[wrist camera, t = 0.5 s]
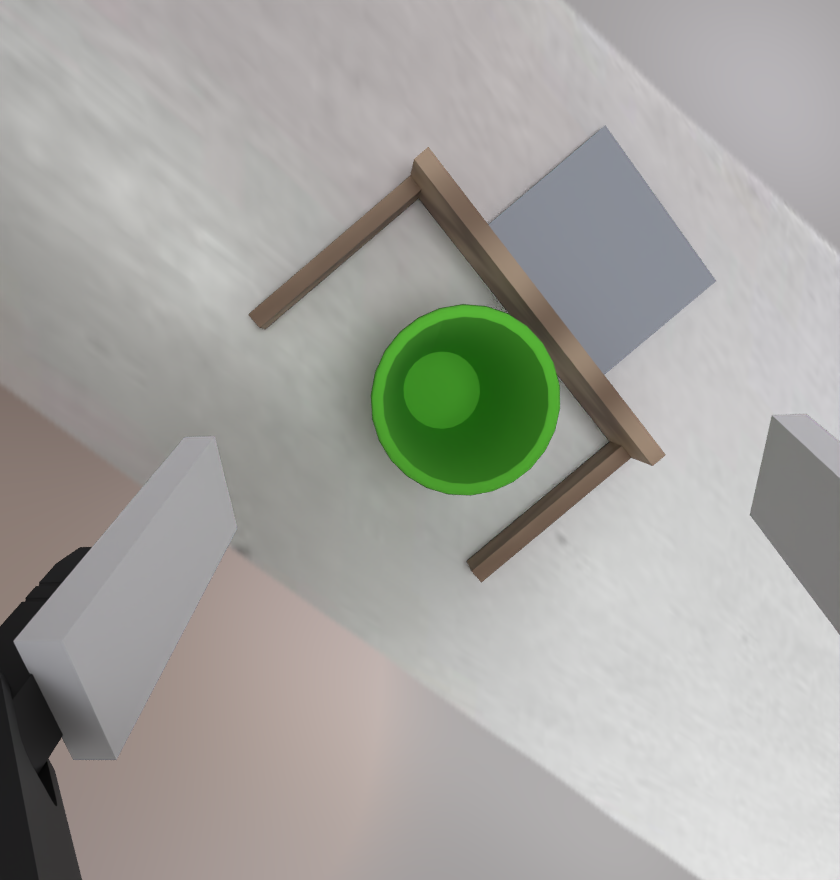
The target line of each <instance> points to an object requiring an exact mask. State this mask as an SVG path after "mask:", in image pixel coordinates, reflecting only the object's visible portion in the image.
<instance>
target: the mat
mask: <svg viewBox="0 0 840 880" xmlns="http://www.w3.org/2000/svg"><path fill="white" fill-rule="evenodd" d="M489 226H490V228H491V229H492V230H493V232H494V233H495V234H496V235H497V237H498V238H499V239H500V241H501V242H502V243H503V244H504V246H505V247H506V248H507V250H508V251H509V252H510V254H511V255H512V256H513V257H514V259H515V260H516V261H517V263H518V264H519V265H520V267H521V268H522V269H523V270H524V272H525V273H526V274H527V276H528V277H529V278H530V280H531V281H532V282H533V283H534V285H535V286H536V287H537V289H538V290H539V291H540V292H541V294H542V295H543V296H544V298H545V299H546V300H547V302H548V303H549V304H550V305H551V307H552V308H553V309H554V311H555V312H556V313H557V315H558V316H559V317H560V318H561V320H562V321H563V322H564V324H565V325H566V326H567V328H568V329H569V330H570V331H571V333H572V334H573V335H574V337H575V338H576V339H577V340H578V342H579V343H580V344H581V346H582V347H583V348H584V350H585V351H586V352H587V353H588V355H589V356H590V357H591V359H592V360H593V361H594V363H595V364H596V365H597V366H598V368H599V369H600V370H601V372H602V373H603V374H604V375H605V374H606V373H607V372H608V371H609V370H610V369H612V368H613V367H614V366H615V365H616V364H618V363H619V362H620V361H621V360H622V359H624V358H625V357H626V356H627V355H628V354H630V353H631V352H632V351H633V350H634V349H636V348H637V347H638V346H639V345H640V344H641V343H643V342H644V341H645V340H646V339H647V338H649V337H650V336H651V335H652V334H653V333H655V332H656V331H657V330H658V329H659V328H661V327H662V326H663V325H664V324H665V323H667V322H668V321H669V320H670V319H671V318H673V317H674V316H675V315H676V314H677V313H678V312H680V311H681V310H682V309H683V308H684V307H686V306H687V305H688V304H689V303H690V302H692V301H693V300H694V299H695V298H696V297H698V296H699V295H700V294H701V293H702V292H704V291H705V290H706V289H707V288H708V287H709V286H711V285H712V284H713V283H714V282H715V281H716V280H715V279H714V277H713V276H712V274H711V273H710V272H709V270H708V269H707V267H706V266H705V265H704V263H703V262H702V260H701V259H700V258H699V256H698V255H697V253H696V252H695V251H694V249H693V248H692V246H691V245H690V244H689V242H688V241H687V239H686V238H685V237H684V235H683V234H682V232H681V231H680V229H679V228H678V227H677V225H676V224H675V222H674V221H673V220H672V218H671V217H670V215H669V214H668V213H667V211H666V210H665V208H664V207H663V206H662V204H661V203H660V201H659V200H658V199H657V197H656V196H655V194H654V193H653V192H652V190H651V189H650V187H649V186H648V185H647V183H646V182H645V180H644V179H643V178H642V176H641V175H640V173H639V172H638V171H637V169H636V168H635V166H634V165H633V163H632V162H631V161H630V159H629V158H628V156H627V155H626V154H625V152H624V151H623V149H622V148H621V147H620V145H619V144H618V142H617V141H616V140H615V138H614V137H613V135H612V134H611V133H610V131H609V130H608V128H607V127H606V126H604V127H603V128H601V129H600V130H599V131H598V132H597V133H596V134H594V135H593V136H592V137H591V138H590V139H589V140H587V141H586V142H585V143H584V144H583V145H581V146H580V147H579V148H578V149H577V150H576V151H574V152H573V153H572V154H571V155H570V156H569V157H567V158H566V159H565V160H564V161H563V162H561V163H560V164H559V165H558V166H557V167H556V168H554V169H553V170H552V171H551V172H550V173H549V174H547V175H546V176H545V177H544V178H543V179H542V180H540V181H539V182H538V183H537V184H536V185H534V186H533V187H532V188H531V189H530V190H529V191H527V192H526V193H525V194H524V195H523V196H522V197H520V198H519V199H518V200H517V201H516V202H514V203H513V204H512V205H511V206H510V207H509V208H507V209H506V210H505V211H504V212H503V213H502V214H500V215H499V216H498V217H497V218H496V219H495V220H493V221H492V222H491V223H490V224H489Z"/></svg>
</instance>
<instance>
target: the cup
mask: <svg viewBox="0 0 840 880" xmlns="http://www.w3.org/2000/svg"><path fill="white" fill-rule="evenodd" d="M371 406H372V420H373V423H374V426H375V429H376V432H377V436H378V439H379V441H380V443H381V445H382V446H383V448H384V450H385V451H386V453H387V455H388V456H389V458H390V460H391V461H392V462H393V463H394V464H395V465H396V466H397V467H398V468H399V469H400V470H401V471H402V472H403V473H404V474H405V475H406V476H407V477H409V478H411V479H413V480H414V481H416V482H418V483H419V484H421V485H423V486H424V487H426V488H429V489H432V490H435V491H439V492H442V493H445V494H452V495H476V494H481V493H486V492H491V491H494V490H496V489H499V488H501V487H503V486H505V485H508V484H510V483H512V482H514V481H515V480H516V479H518V478H519V477H520V476H522V475H523V474H524V473H525V472H527V471H528V470H529V469H531V468H532V466H533V465H534V464H535V463H536V461H537V460H538V459H539V458H540V456H541V455H542V454H543V453H544V452H545V450H546V448H547V446H548V444H549V442H550V440H551V438H552V436H553V434H554V431H555V428H556V424H557V419H558V415H559V410H560V385H559V381H558V377H557V374H556V370H555V366H554V363H553V361H552V359H551V357H550V355H549V354H548V352H547V350H546V348H545V346H544V344H543V343H542V342H541V341H540V339H539V338H538V337H537V336H536V335H535V334H534V333H533V332H532V331H531V330H530V329H529V328H528V326H526V325H525V324H523V323H522V322H520V321H519V320H517V319H515V318H514V317H512V316H511V315H509V314H508V313H505V312H502V311H499V310H496V309H493V308H490V307H487V306H478V305H466V304H462V305H456V306H450V307H444V308H439V309H437V310H435V311H432V312H430V313H428V314H426V315H423V316H421V317H419V318H417V319H416V320H415V321H413V322H412V323H411V324H409V325H408V326H407V327H406V328H404V329H403V330H402V331H400V332H399V334H398V335H397V336H396V337H395V339H394V340H393V341H392V342H391V344H390V345H389V346H388V348H387V349H386V350H385V352H384V354H383V356H382V358H381V360H380V363H379V365H378V367H377V369H376V372H375V376H374V381H373V387H372V392H371Z"/></svg>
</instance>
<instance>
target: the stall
mask: <svg viewBox="0 0 840 880" xmlns="http://www.w3.org/2000/svg"><path fill="white" fill-rule="evenodd" d="M418 198H419V199H420V201H421V202H422V203H423V205H424V206H425V207H426V208H427V210H428V211H429V212H430V213H431V215H432V216H433V217H434V219H435V220H436V221H437V222H438V224H439V225H440V226H441V227H442V229H443V230H444V231H445V233H446V234H447V235H448V236H449V238H450V239H451V240H452V241H453V243H454V244H455V245H456V247H457V248H458V249H459V250H460V252H461V253H462V254H463V255H464V257H465V258H466V259H467V261H468V262H469V263H470V264H471V266H472V267H473V268H474V269H475V271H476V272H477V273H478V275H479V276H480V277H481V278H482V280H483V281H484V282H485V283H486V285H487V286H488V287H489V288H490V290H491V291H492V292H493V294H494V295H495V296H496V297H497V299H498V300H499V301H500V302H501V304H502V305H503V306H504V308H505V309H506V310H507V311H508V313H509V314H510V315H511V316H512V317H514V318H515V319H517V320H519V321H520V322H522V323H523V324H525V325H526V326H528V328H529V329H530V330H531V331H532V332H533V333H534V334H535V335H536V336H537V337H538V338H539V339H540V341H541V342H542V343H543V344H544V346H545V348H546V350H547V352H548V354H549V355H550V357H551V359H552V361H553V363H554V366H555V370H556V374H557V375H558V376H559V378H560V379H561V380H562V381H563V383H564V384H565V385H566V386H567V388H568V389H569V390H570V392H571V393H572V394H573V395H574V397H575V398H576V399H577V400H578V402H579V403H580V404H581V406H582V407H583V408H584V409H585V411H586V412H587V413H588V414H589V416H590V417H591V418H592V420H593V421H594V422H595V423H596V425H597V426H598V427H599V428H600V430H601V431H602V432H603V434H604V435H605V436H606V437H607V439H608V440H609V441H610V442H609V443H608V444H606V445H605V446H604V447H603V448H602V449H600V450H599V451H598V452H597V453H596V454H594V455H593V456H592V457H591V458H590V459H588V460H587V461H586V462H585V463H584V464H582V465H581V466H580V467H579V468H578V469H576V470H575V471H574V472H573V473H572V474H570V475H569V476H568V477H567V478H566V479H564V480H563V481H562V482H561V483H560V484H558V485H557V486H556V487H555V488H554V489H552V490H551V491H550V492H549V493H548V494H546V495H545V496H544V497H543V498H542V499H541V500H539V501H538V502H537V503H536V504H535V505H533V506H532V507H531V508H530V509H529V510H527V511H526V512H525V513H524V514H523V515H521V516H520V517H519V518H518V519H517V520H515V521H514V522H513V523H512V524H511V525H509V526H508V527H507V528H506V529H505V530H503V531H502V532H501V533H500V534H499V535H497V536H496V537H495V538H494V539H493V540H491V541H490V542H489V543H488V544H487V545H485V546H484V547H483V548H482V549H481V550H479V551H478V552H477V553H476V554H475V555H473V556H472V557H471V558H470V559H469V560H467V563H468V565H469V567H470V569H471V571H472V572H473V574H474V575H475V576H476V577H477V578H478V579H479V580H480V582H483V581H484V580H485V579H486V578H487V577H489V576H490V575H491V574H492V573H493V572H495V571H496V570H497V569H498V568H499V567H501V566H502V565H503V564H504V563H505V562H507V561H508V560H509V559H510V558H511V557H513V556H514V555H515V554H516V553H517V552H519V551H520V550H521V549H522V548H523V547H525V546H526V545H527V544H528V543H529V542H531V541H532V540H533V539H534V538H535V537H537V536H538V535H539V534H540V533H541V532H543V531H544V530H545V529H546V528H547V527H549V526H550V525H551V524H552V523H553V522H555V521H556V520H557V519H558V518H559V517H561V516H562V515H563V514H564V513H565V512H567V511H568V510H569V509H570V508H571V507H573V506H574V505H575V504H576V503H577V502H579V501H580V500H581V499H582V498H583V497H585V496H586V495H587V494H588V493H589V492H591V491H592V490H593V489H594V488H595V487H597V486H598V485H599V484H600V483H601V482H603V481H604V480H605V479H606V478H607V477H609V476H610V475H611V474H612V473H613V472H615V471H616V470H617V469H618V468H619V467H621V466H622V465H623V464H624V463H625V462H627V461H628V460H629V459H630V458H633V459H636V460H639V461H641V462H644V463H647V464H649V465H652V466H653V465H654V464H655V463H657V462H658V461H659V460H660V459H661V458H663V457H664V456H665V453H664V452H663V451H662V449H661V448H660V447H659V446H658V444H657V443H656V442H655V440H654V439H653V438H652V436H651V435H650V434H649V433H648V431H647V430H646V429H645V427H644V426H643V425H642V424H641V422H640V421H639V420H638V418H637V417H636V416H635V414H634V413H633V412H632V411H631V409H630V408H629V407H628V405H627V404H626V403H625V401H624V400H623V399H622V398H621V396H620V395H619V394H618V392H617V391H616V390H615V388H614V387H613V386H612V385H611V383H610V382H609V381H608V379H607V378H606V377H605V376H604V374H603V373H602V372H601V370H600V369H599V368H598V366H597V365H596V364H595V363H594V361H593V360H592V359H591V357H590V356H589V355H588V353H587V352H586V351H585V350H584V348H583V347H582V346H581V344H580V343H579V342H578V340H577V339H576V338H575V337H574V335H573V334H572V333H571V331H570V330H569V329H568V328H567V326H566V325H565V324H564V322H563V321H562V320H561V318H560V317H559V316H558V315H557V313H556V312H555V311H554V309H553V308H552V307H551V305H550V304H549V303H548V302H547V300H546V299H545V298H544V296H543V295H542V294H541V292H540V291H539V290H538V289H537V287H536V286H535V285H534V283H533V282H532V281H531V280H530V278H529V277H528V276H527V274H526V273H525V272H524V270H523V269H522V268H521V267H520V265H519V264H518V263H517V261H516V260H515V259H514V257H513V256H512V255H511V254H510V252H509V251H508V250H507V248H506V247H505V246H504V244H503V243H502V242H501V241H500V239H499V238H498V237H497V235H496V234H495V233H494V232H493V230H492V229H491V228H490V226H489V225H488V224H487V222H486V221H485V220H484V219H483V217H482V216H481V215H480V213H479V212H478V211H477V209H476V208H475V207H474V206H473V204H472V203H471V202H470V200H469V199H468V198H467V196H466V195H465V194H464V193H463V191H462V190H461V189H460V187H459V186H458V185H457V184H456V182H455V181H454V180H453V178H452V177H451V176H450V174H449V173H448V172H447V171H446V169H445V168H444V167H443V165H442V164H441V163H440V161H439V160H438V159H437V158H436V156H435V155H434V154H433V152H432V151H431V150H430V148H429V147H428V148H427V149H425V150H424V151H423V152H422V153H421V154H420V155H418V156H417V157H416V158H415V159H414V162H413V166H412V171H411V175H410V176H409V177H408V178H407V179H406V180H405V181H403V182H402V183H401V184H400V185H399V186H398V187H396V188H395V189H394V190H393V191H392V192H391V193H389V194H388V195H387V196H386V197H385V198H384V199H382V200H381V201H380V202H379V203H378V204H377V205H375V206H374V207H373V208H372V209H371V210H370V211H368V212H367V213H366V214H365V215H364V216H363V217H361V218H360V219H359V220H358V221H357V222H356V223H354V224H353V225H352V226H351V227H350V228H349V229H347V230H346V231H345V232H344V233H343V234H342V235H340V236H339V237H338V238H337V239H336V240H335V241H333V242H332V243H331V244H330V245H329V246H328V247H326V248H325V249H324V250H323V251H322V252H321V253H319V254H318V255H317V256H316V257H315V258H314V259H312V260H311V261H310V262H309V263H308V264H307V265H305V266H304V267H303V268H302V269H301V270H300V271H298V272H297V273H296V274H295V275H294V276H293V277H291V278H290V279H289V280H288V281H287V282H286V283H284V284H283V285H282V286H281V287H280V288H279V289H277V290H276V291H275V292H274V293H273V294H272V295H270V296H269V297H268V298H267V299H266V300H265V301H263V302H262V303H261V304H260V305H259V306H258V307H256V308H255V309H254V310H253V311H252V312H251V313H249V314H248V315H249V316H250V317H251V318H252V320H253V321H254V322H255V323H256V324H257V325H258V326H259V328H262V329H266V328H268V327H269V326H270V325H271V324H272V323H273V322H275V321H276V320H277V319H278V318H279V317H280V316H282V315H283V314H284V313H285V312H286V311H287V310H289V309H290V308H291V307H292V306H293V305H294V304H296V303H297V302H298V301H299V300H300V299H301V298H303V297H304V296H305V295H306V294H307V293H308V292H310V291H311V290H312V289H313V288H314V287H315V286H317V285H318V284H319V283H320V282H321V281H322V280H324V279H325V278H326V277H327V276H328V275H330V274H331V273H332V272H333V271H334V270H335V269H337V268H338V267H339V266H340V265H341V264H342V263H344V262H345V261H346V260H347V259H348V258H349V257H351V256H352V255H353V254H354V253H355V252H356V251H358V250H359V249H360V248H361V247H362V246H363V245H365V244H366V243H367V242H368V241H369V240H370V239H372V238H373V237H374V236H375V235H376V234H377V233H379V232H380V231H381V230H382V229H383V228H384V227H386V226H387V225H388V224H389V223H390V222H391V221H393V220H394V219H395V218H396V217H397V216H398V215H400V214H401V213H402V212H403V211H404V210H406V209H407V208H408V207H409V206H410V205H411V204H413V203H414V202H415V201H416V200H417V199H418Z"/></svg>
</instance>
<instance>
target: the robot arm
mask: <svg viewBox="0 0 840 880" xmlns="http://www.w3.org/2000/svg"><path fill="white" fill-rule="evenodd" d="M750 516H751V517H752V518H753V520H754V521H755V522H756V524H757V525H758V526H759V528H760V529H761V530H762V532H763V533H764V534H765V536H766V537H767V538H768V540H769V541H770V542H771V544H772V545H773V546H774V548H775V549H776V550H777V552H778V553H779V554H780V556H781V557H782V558H783V560H784V561H785V562H786V564H787V565H788V566H789V568H790V569H791V570H792V572H793V573H794V574H795V576H796V577H797V578H798V580H799V581H800V582H801V584H802V585H803V586H804V588H805V589H806V590H807V592H808V593H809V594H810V596H811V597H812V598H813V600H814V601H815V602H816V604H817V605H818V606H819V608H820V609H821V610H822V612H823V613H824V614H825V616H826V617H827V618H828V620H829V621H830V622H831V624H832V625H833V626H834V628H835V629H836V630H837V632H838V633H839V634H840V441H839V440H837V439H836V438H835V437H834V436H833V435H831V434H830V433H829V432H828V431H827V430H825V429H824V428H823V427H822V426H821V425H819V424H818V423H817V422H816V421H815V420H813V419H812V418H811V417H810V416H809V415H807V414H790V415H772V417H771V422H770V426H769V431H768V435H767V440H766V444H765V449H764V453H763V458H762V462H761V467H760V471H759V476H758V480H757V485H756V489H755V494H754V498H753V503H752V507H751V512H750ZM236 530H237V524H236V520H235V515H234V511H233V507H232V503H231V499H230V495H229V491H228V487H227V483H226V479H225V475H224V471H223V467H222V463H221V459H220V455H219V451H218V447H217V443H216V439H215V436H199V437H184V438H183V439H182V441H181V442H180V443H179V444H178V445H177V447H176V448H175V449H174V450H173V451H172V453H171V454H170V455H169V456H168V457H167V458H166V460H165V461H164V462H163V463H162V464H161V466H160V467H159V468H158V469H157V470H156V472H155V473H154V474H153V475H152V476H151V478H150V479H149V480H148V481H147V482H146V484H145V485H144V486H143V487H142V488H141V489H140V491H139V492H138V493H137V494H136V495H135V497H134V498H133V499H132V500H131V501H130V503H129V504H128V505H127V506H126V507H125V509H124V510H123V511H122V512H121V513H120V515H119V516H118V517H117V518H116V519H115V520H114V522H113V523H112V524H111V525H110V526H109V528H108V529H107V530H106V531H105V532H104V534H103V535H102V536H101V537H100V538H99V540H98V541H97V542H96V543H95V544H94V546H93V547H80V548H78V549H77V550H75V551H74V552H72V553H71V554H70V555H68V556H67V557H65V558H64V559H62V560H61V561H59V562H58V563H56V564H55V565H54V566H53V568H52V569H51V570H50V571H49V572H48V573H47V575H46V576H45V577H44V578H43V579H42V580H41V581H40V582H39V586H36V587H35V588H34V589H33V590H32V591H31V592H30V594H29V595H28V596H27V597H26V601H25V602H21V604H20V605H19V606H18V607H17V608H16V609H15V610H14V611H13V613H12V614H11V615H10V616H9V617H8V618H7V619H6V620H5V622H4V623H3V624H2V625H1V626H0V880H82V878H81V874H80V870H79V866H78V862H77V858H76V854H75V850H74V846H73V842H72V838H71V834H70V830H69V826H68V822H67V818H66V814H65V810H64V806H63V802H62V798H61V794H60V790H59V785H58V782H57V777H56V774H55V770H54V768H53V766H52V764H51V763H50V761H49V759H48V758H49V756H50V755H51V753H52V752H53V750H54V748H55V747H56V745H57V744H58V742H59V741H60V739H61V737H62V739H63V741H64V743H65V745H66V747H67V749H68V751H69V753H70V754H71V756H72V758H73V760H116V759H117V758H118V756H119V754H120V752H121V750H122V748H123V746H124V745H125V743H126V741H127V738H128V737H129V735H130V733H131V731H132V729H133V727H134V725H135V723H136V722H137V720H138V718H139V716H140V714H141V712H142V710H143V708H144V706H145V704H146V702H147V701H148V698H149V697H150V695H151V693H152V691H153V689H154V687H155V685H156V683H157V681H158V680H159V678H160V676H161V674H162V672H163V670H164V668H165V666H166V664H167V662H168V660H169V658H170V657H171V655H172V653H173V651H174V649H175V647H176V645H177V643H178V641H179V639H180V637H181V635H182V634H183V632H184V630H185V628H186V626H187V624H188V622H189V620H190V618H191V616H192V614H193V613H194V611H195V609H196V607H197V605H198V603H199V601H200V599H201V597H202V595H203V593H204V591H205V590H206V588H207V586H208V584H209V582H210V580H211V578H212V576H213V574H214V572H215V571H216V568H217V566H218V565H219V563H220V561H221V559H222V557H223V555H224V553H225V551H226V549H227V548H228V546H229V544H230V542H231V540H232V538H233V536H234V534H235V532H236Z"/></svg>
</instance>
